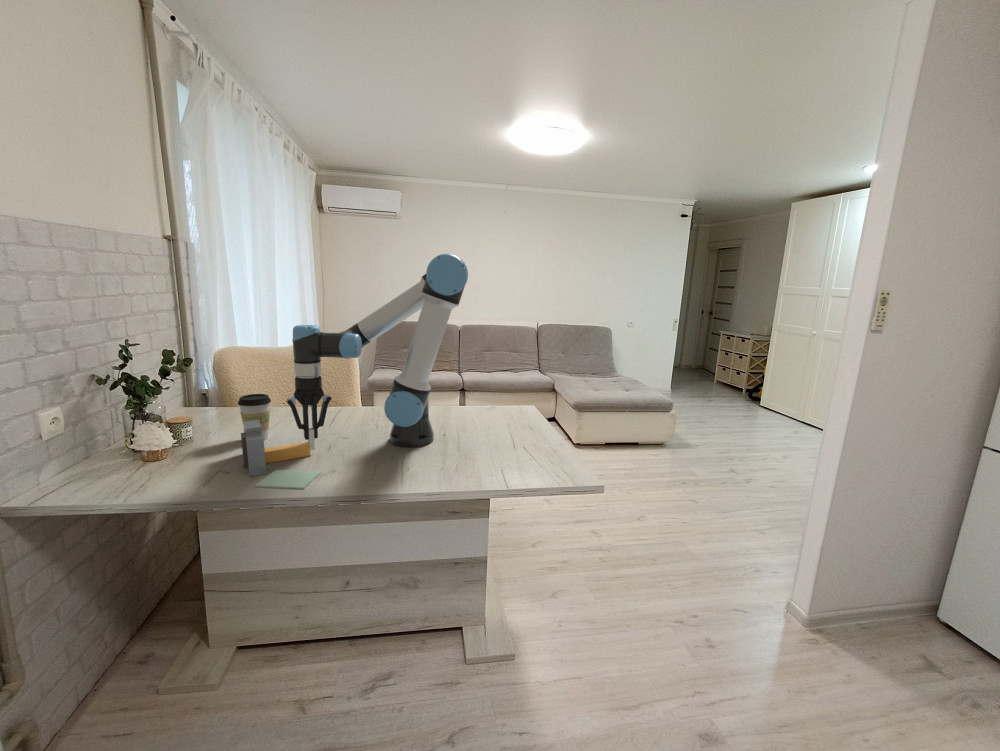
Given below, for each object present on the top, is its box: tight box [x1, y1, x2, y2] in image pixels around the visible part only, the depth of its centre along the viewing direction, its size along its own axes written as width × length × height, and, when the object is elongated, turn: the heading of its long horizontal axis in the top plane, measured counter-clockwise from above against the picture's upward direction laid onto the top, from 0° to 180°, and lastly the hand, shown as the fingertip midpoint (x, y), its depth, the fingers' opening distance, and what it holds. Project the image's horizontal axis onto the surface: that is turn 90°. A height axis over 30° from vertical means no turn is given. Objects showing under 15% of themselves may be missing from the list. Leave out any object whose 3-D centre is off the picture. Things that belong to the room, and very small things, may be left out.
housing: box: [242, 419, 267, 478], centre depth 127 cm, size 4×20×12 cm, turn 33°
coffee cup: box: [237, 393, 272, 441], centre depth 146 cm, size 10×10×15 cm
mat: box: [254, 469, 321, 490], centre depth 118 cm, size 13×10×1 cm
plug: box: [240, 432, 311, 469], centre depth 130 cm, size 18×5×9 cm, turn 123°
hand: (311, 448), depth 136 cm, fingers closed
